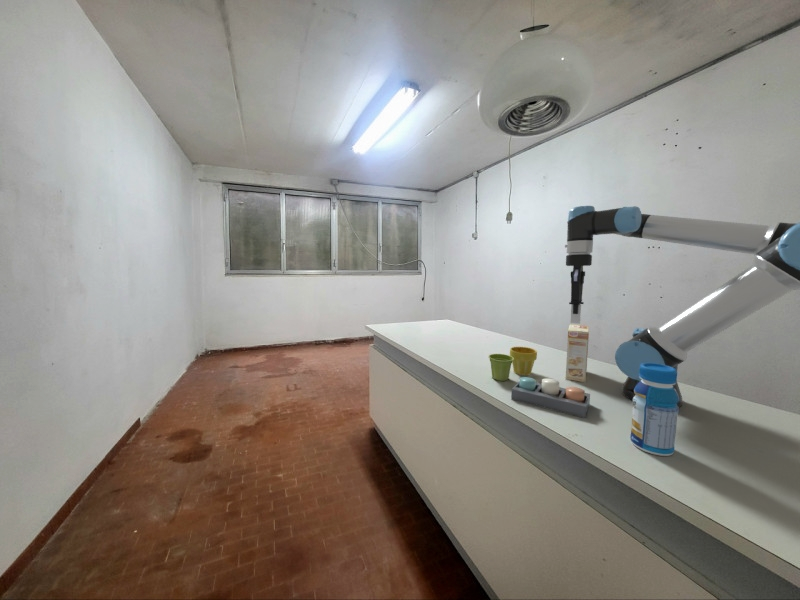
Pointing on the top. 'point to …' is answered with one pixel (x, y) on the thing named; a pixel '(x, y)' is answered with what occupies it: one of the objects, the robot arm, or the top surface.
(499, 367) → the plant pot
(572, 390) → the terracotta egg
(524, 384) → the teal egg
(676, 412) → the beverage bottle
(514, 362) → the plant pot
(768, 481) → the top surface
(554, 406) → the egg display tray
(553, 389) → the cream egg
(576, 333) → the coffeecake box
